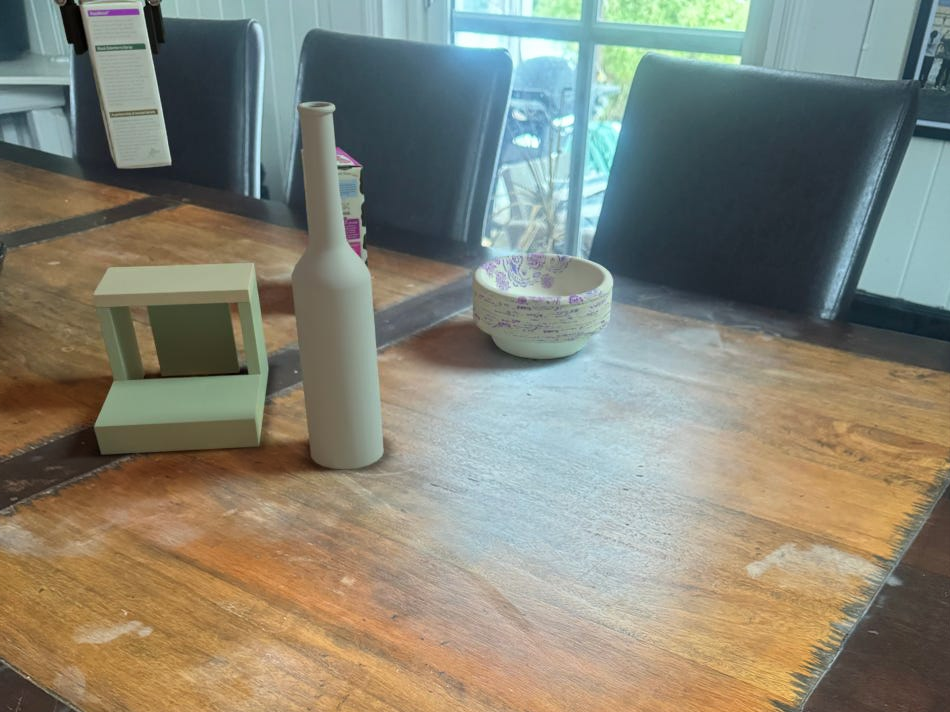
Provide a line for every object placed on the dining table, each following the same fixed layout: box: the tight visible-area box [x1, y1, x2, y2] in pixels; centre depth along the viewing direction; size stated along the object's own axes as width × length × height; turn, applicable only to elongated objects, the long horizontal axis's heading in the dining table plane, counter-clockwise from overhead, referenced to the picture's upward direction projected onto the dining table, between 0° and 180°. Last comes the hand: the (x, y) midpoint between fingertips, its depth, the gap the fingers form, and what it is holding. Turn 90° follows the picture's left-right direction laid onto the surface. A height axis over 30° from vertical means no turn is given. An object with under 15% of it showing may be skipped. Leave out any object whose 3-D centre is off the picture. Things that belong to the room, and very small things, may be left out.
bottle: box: [291, 101, 385, 470], centre depth 77 cm, size 7×7×28 cm
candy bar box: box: [300, 146, 369, 269], centre depth 112 cm, size 11×5×16 cm, turn 21°
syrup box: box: [77, 0, 172, 169], centre depth 95 cm, size 6×6×14 cm
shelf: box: [92, 262, 270, 455], centre depth 89 cm, size 14×18×11 cm
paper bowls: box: [471, 252, 614, 360], centre depth 104 cm, size 15×15×8 cm
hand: (119, 50), depth 94 cm, fingers closed on syrup box, 6 cm apart
